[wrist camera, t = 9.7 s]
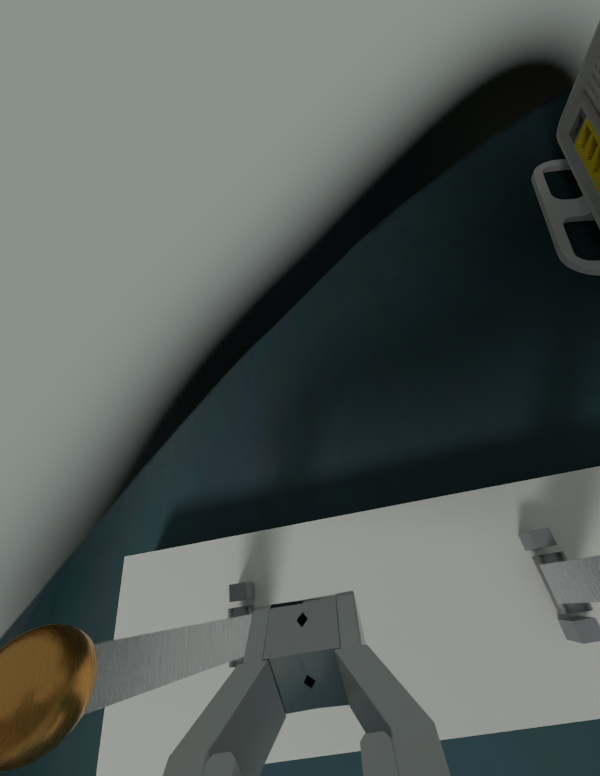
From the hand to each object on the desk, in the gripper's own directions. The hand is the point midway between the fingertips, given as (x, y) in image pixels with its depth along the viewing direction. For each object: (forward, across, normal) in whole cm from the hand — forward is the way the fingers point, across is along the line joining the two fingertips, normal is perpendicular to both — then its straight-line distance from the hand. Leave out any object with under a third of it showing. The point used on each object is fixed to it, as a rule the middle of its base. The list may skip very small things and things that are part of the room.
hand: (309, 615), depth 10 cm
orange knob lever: (+6, +5, +7) cm, 10 cm away
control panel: (+9, -3, +10) cm, 13 cm away
